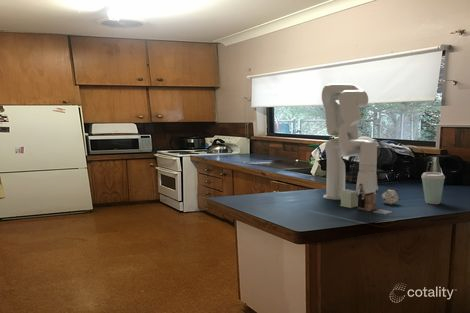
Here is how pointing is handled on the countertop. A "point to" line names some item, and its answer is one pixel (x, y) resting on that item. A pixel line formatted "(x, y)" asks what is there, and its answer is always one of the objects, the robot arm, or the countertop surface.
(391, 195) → the cream knobbly ball
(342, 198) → the sage block
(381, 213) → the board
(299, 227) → the countertop surface
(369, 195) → the walnut block
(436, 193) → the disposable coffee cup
